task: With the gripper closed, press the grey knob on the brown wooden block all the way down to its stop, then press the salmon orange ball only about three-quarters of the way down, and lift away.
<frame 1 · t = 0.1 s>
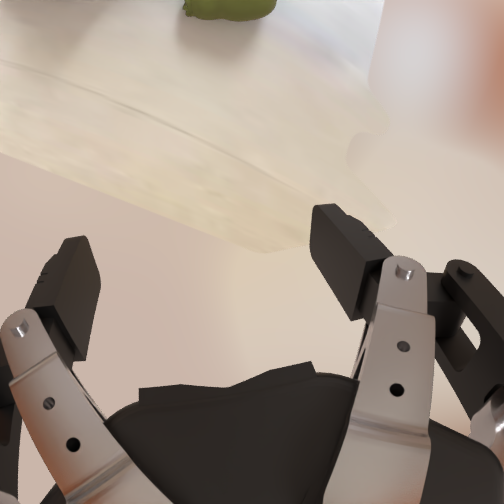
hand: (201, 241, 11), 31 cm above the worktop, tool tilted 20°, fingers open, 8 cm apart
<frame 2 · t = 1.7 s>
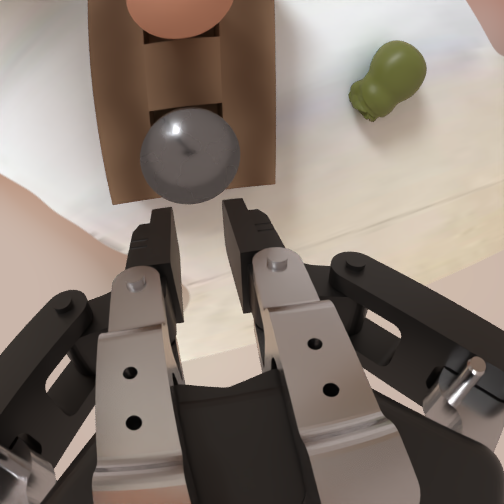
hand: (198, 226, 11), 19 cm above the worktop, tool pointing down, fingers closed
pear: (374, 78, 28), on the worktop
salmon orange ball: (180, 0, 15), point 7 cm above the worktop, slide at 0.0 cm
brown wooden block: (182, 72, 24), on the worktop
grey knob: (189, 147, 21), point 7 cm above the worktop, slide at 0.0 cm
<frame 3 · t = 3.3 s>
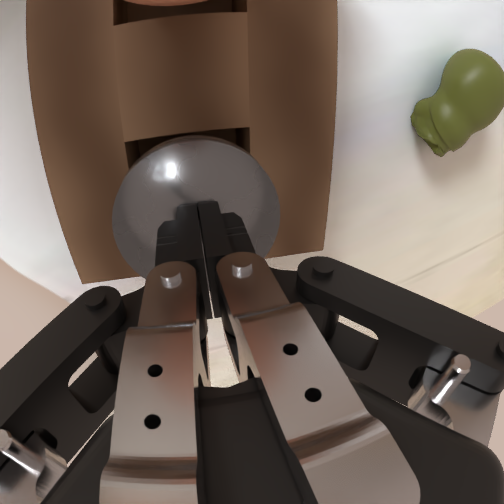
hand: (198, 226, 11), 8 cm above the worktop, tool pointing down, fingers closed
pear: (440, 95, 19), on the worktop
brown wooden block: (181, 72, 15), on the worktop
grey knob: (193, 196, 14), point 6 cm above the worktop, slide at 1.5 cm, touching gripper
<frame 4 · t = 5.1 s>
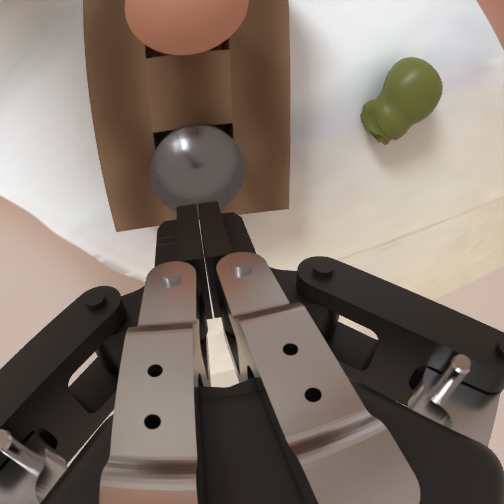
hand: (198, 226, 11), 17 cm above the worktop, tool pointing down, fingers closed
pear: (387, 97, 26), on the worktop
salmon orange ball: (186, 9, 14), point 7 cm above the worktop, slide at 0.0 cm
brown wooden block: (188, 86, 23), on the worktop
grey knob: (195, 161, 22), point 4 cm above the worktop, slide at 3.1 cm
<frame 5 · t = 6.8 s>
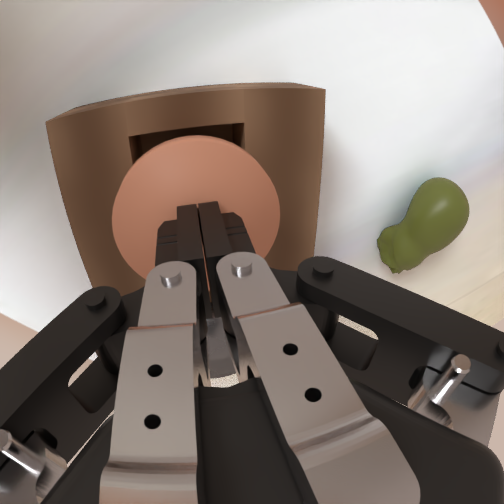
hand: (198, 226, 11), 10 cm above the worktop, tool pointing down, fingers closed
pear: (407, 214, 27), on the worktop
salmon orange ball: (192, 196, 14), point 7 cm above the worktop, slide at 0.3 cm, touching gripper
brown wooden block: (196, 228, 22), on the worktop
grey knob: (210, 322, 22), point 4 cm above the worktop, slide at 3.1 cm
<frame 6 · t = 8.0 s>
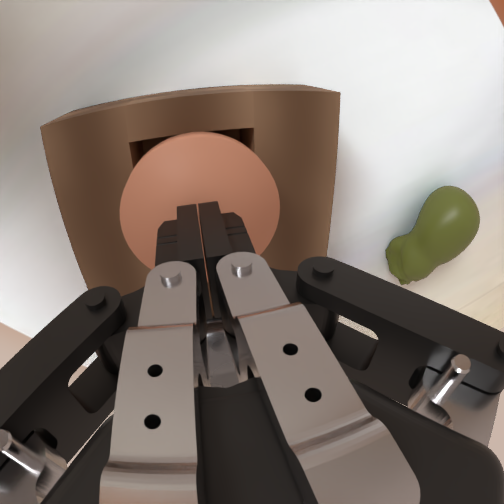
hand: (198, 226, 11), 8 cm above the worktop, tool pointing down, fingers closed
pear: (416, 223, 26), on the worktop
salmon orange ball: (196, 191, 14), point 5 cm above the worktop, slide at 2.2 cm
brown wooden block: (201, 237, 21), on the worktop
grey knob: (216, 335, 21), point 4 cm above the worktop, slide at 3.1 cm
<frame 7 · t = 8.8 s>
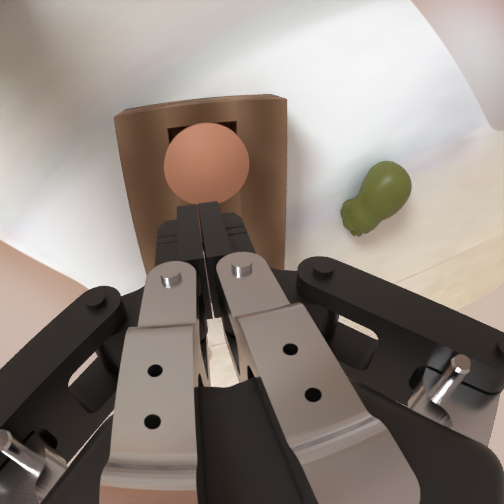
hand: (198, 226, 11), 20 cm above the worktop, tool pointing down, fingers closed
pear: (365, 191, 36), on the worktop
salmon orange ball: (204, 156, 25), point 5 cm above the worktop, slide at 2.2 cm
brown wooden block: (206, 194, 32), on the worktop
grey knob: (214, 260, 31), point 4 cm above the worktop, slide at 3.1 cm
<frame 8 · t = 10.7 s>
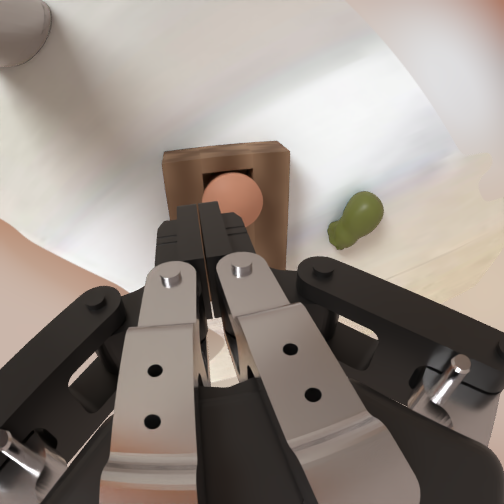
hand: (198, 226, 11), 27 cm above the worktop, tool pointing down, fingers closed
pear: (347, 214, 46), on the worktop
salmon orange ball: (229, 194, 35), point 5 cm above the worktop, slide at 2.2 cm
brown wooden block: (225, 217, 42), on the worktop
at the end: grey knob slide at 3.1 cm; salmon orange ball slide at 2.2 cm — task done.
